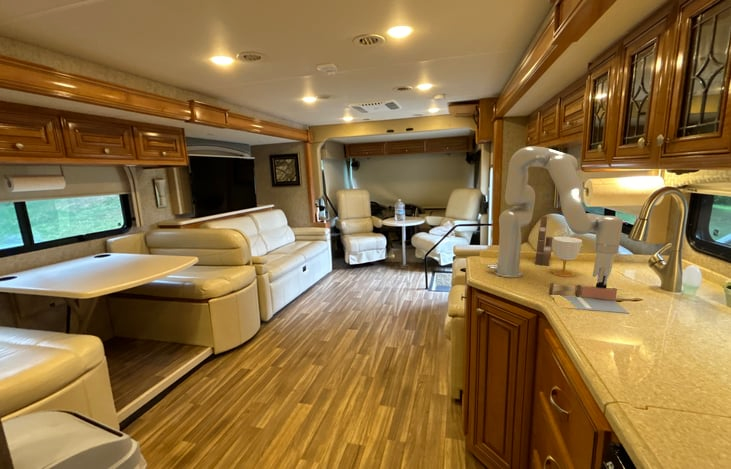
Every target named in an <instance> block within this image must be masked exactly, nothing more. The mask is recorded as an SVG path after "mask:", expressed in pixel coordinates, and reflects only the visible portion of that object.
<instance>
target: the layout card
mask: <svg viewBox="0 0 731 469" xmlns="http://www.w3.org/2000/svg"><path fill="white" fill-rule="evenodd" d="M562 297H564V298H566V299H567V300H568V301H571V302H570V303H571V304H572V305H574V307H577V309H576V310H580V309H583V311H592V312H593V311H594V312H606V313H617V314H630V312H629V311H628V310H626V308H625V307H623V306H621V305H620V304H619V303H618V302H617V301H616V300H608V299H599V298H591V297H582V296H581V294H580V297H576V294H574V297H572V296H562Z"/></svg>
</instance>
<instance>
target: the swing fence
mask: <svg viewBox="0 0 731 469" xmlns="http://www.w3.org/2000/svg"><path fill="white" fill-rule="evenodd" d="M617 292H618V289H617V288H614V287H613V288H607V287H606V288H598V287H596V286H587V285H581V291H580V295H581V296H582V297H591V298H599V299H608V300H614V301H616V299H617Z"/></svg>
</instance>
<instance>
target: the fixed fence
mask: <svg viewBox="0 0 731 469" xmlns="http://www.w3.org/2000/svg"><path fill="white" fill-rule="evenodd" d="M581 291H582V285H581V284H576V286H575V285H566V284H565V285H563V284H555V283H554V282H549V290H548V295H549V294H550V295H560V296H572V297H574V295H576V297H580V295H581ZM550 295H549V296H550Z"/></svg>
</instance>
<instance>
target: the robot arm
mask: <svg viewBox="0 0 731 469" xmlns="http://www.w3.org/2000/svg"><path fill="white" fill-rule="evenodd" d="M578 165H579V164H578V160H577V158H576V157H575V156H574V155H572V154H568V153H565V152H561V151H558V150H556V149H552V148H548V147H546V146H535V145H534V146H533V145H531V146H525V147H522V148H520V149H518V150H517V151H516V152H514V153H513V154H512V156H511V158H510V160H509V164H508V173H507V174H508V175H507V179H506V180H507V181H506V187H505V194H504V200H505V203H506V204H507V205H509V206H512V208H508V209H505V210H504V211H502V212H501V214H500V215H499V218H498V227H499V241H498V253H497V254H498V255H497V262H496V263H495V264H494V263H493V264H486V268H487V269H490V270H493V274H494V275H496V276H498V277H503V278H508V279H516V278H517V279H518V278H520V277H522V276H523V272H522V271H521V270H520V263H521V261H520V260H521V251H522V250H521V249H522V231H521V230H522V229H521V228H522V227H523V228H524V227H526V226H528V225H529V224H530V223H531V222H532V218H533V213H534V210H535V208H534V207H535V203H536V202H535V201H536V192H535V190H534V188H533V187H532V186H531V185H529V184H528V181H529V168H531V167H533V168H534V167H540V168H543V169H546V170H547V171H548V173H549V175H550V177H551V179H552V182H553V183H554V185H555V187H556V189H557V192H558V193H559V194H558V195H559V201H560V202H559V203H560V206H561V207H560V208H561V212H562V215H563V217H564V219H565V222H566V223H567V227H569V229H570V230H571V231H572V232H573V233H574V234H576V235H586V234H589V233H594V232H595V241H594V242H595V243H594V249H593V252H595V253H596V255H595V260H594V265H593V272H592V277H593V278H595V277H596V278H597V279H596V283H595V284H596V285H595V287H598V288H607V286H608V284H607V281H608V279H609V278H610V276H611V274H612V269H613V264H614V258H615V255H618V254H619V250H620V243H621V236H622V230H623V229H622V228H623V218H622V217H620V216H616V215H615V216H614V215H601V214H598V213H597V214H596V213H589V212H587V213H586V210H585V208H584V206H583V202H582V195H583V194H582V193H583V189H584V186H583V183H582V181H581V179H580V178H579V175H578V173H577V172H576V170H577V168H578V167H579V166H578Z"/></svg>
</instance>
